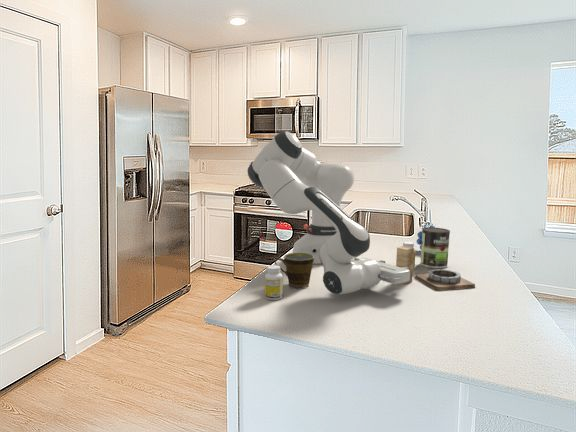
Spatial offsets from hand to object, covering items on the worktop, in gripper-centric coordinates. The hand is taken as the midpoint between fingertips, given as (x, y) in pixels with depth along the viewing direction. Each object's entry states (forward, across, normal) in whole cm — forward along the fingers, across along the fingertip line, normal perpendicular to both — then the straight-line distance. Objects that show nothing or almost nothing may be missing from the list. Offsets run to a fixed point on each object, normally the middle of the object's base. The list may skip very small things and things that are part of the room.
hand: (394, 265), depth 148 cm
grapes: (+50, +20, +7) cm, 54 cm away
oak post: (+5, 0, +6) cm, 8 cm away
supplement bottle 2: (+21, +10, +7) cm, 24 cm away
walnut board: (+15, -9, +6) cm, 19 cm away
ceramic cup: (-27, +20, +7) cm, 34 cm away
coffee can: (+32, +6, +7) cm, 34 cm away
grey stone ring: (+15, -9, +5) cm, 19 cm away
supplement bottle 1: (-40, +15, +7) cm, 43 cm away
